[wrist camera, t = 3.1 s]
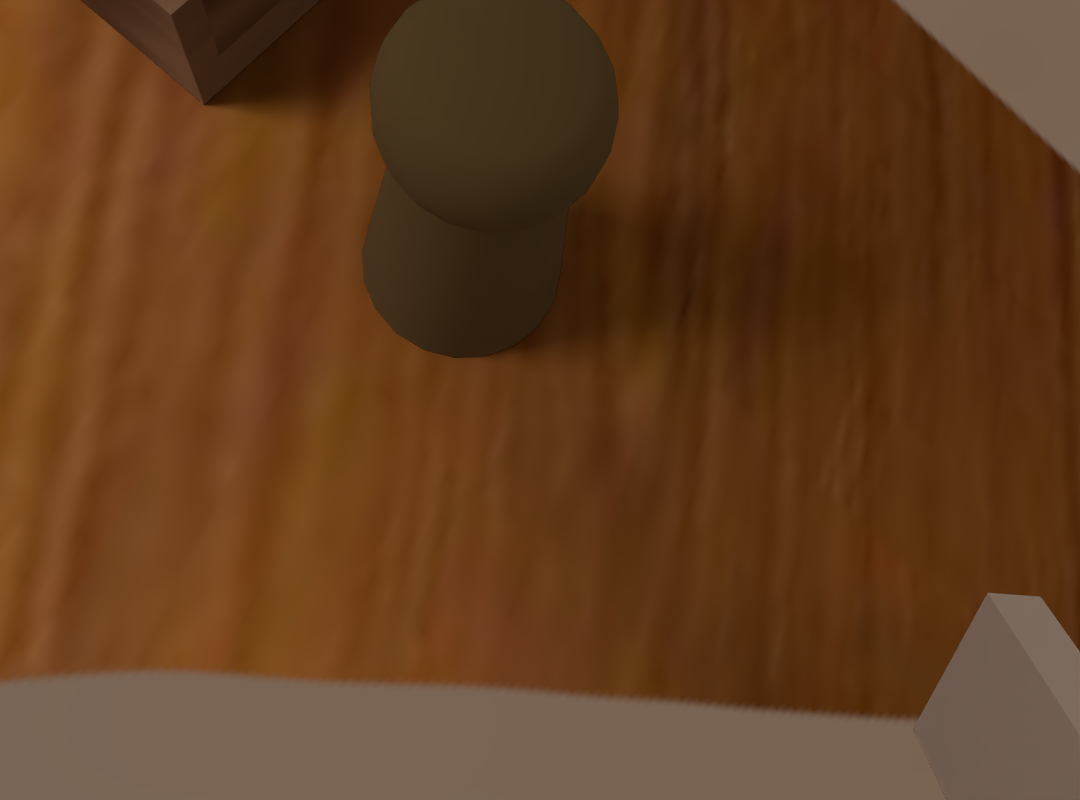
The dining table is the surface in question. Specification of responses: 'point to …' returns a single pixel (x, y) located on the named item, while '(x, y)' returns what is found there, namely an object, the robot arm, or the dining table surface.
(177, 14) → the stand
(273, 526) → the dining table surface
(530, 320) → the cork
